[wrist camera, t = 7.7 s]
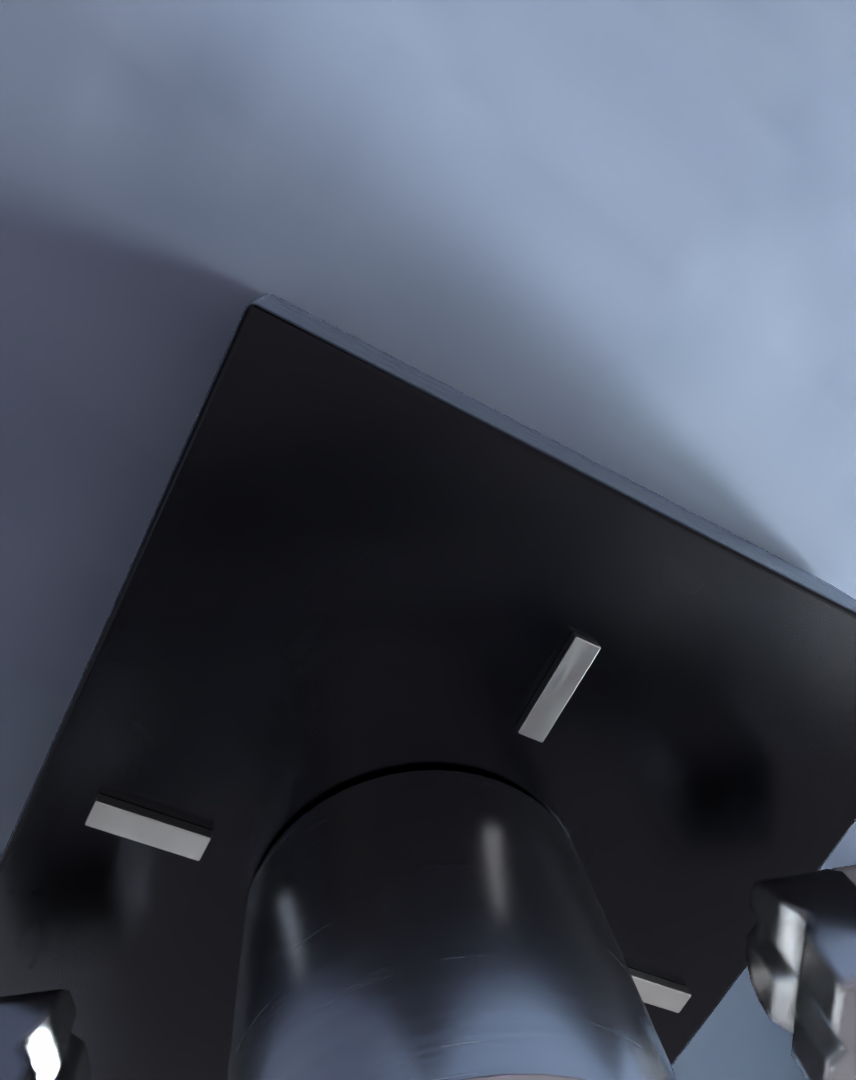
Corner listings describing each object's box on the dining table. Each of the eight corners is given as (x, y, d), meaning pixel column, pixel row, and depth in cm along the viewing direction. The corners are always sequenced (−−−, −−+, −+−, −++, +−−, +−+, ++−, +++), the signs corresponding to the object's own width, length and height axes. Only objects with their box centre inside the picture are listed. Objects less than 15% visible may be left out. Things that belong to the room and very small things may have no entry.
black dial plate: (483, 1095, 16) (522, 1285, 13) (-34, 960, 13) (-133, 1157, 10) (832, 585, 13) (981, 677, 10) (267, 290, 11) (246, 300, 8)
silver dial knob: (483, 1072, 12) (571, 1508, 7) (189, 992, 10) (108, 1454, 6) (643, 834, 11) (848, 1188, 6) (339, 716, 9) (355, 1056, 5)
